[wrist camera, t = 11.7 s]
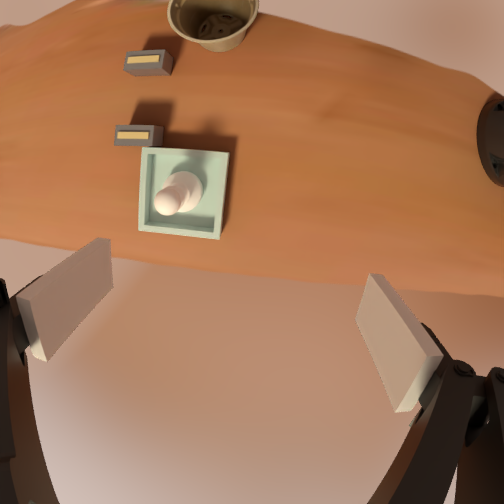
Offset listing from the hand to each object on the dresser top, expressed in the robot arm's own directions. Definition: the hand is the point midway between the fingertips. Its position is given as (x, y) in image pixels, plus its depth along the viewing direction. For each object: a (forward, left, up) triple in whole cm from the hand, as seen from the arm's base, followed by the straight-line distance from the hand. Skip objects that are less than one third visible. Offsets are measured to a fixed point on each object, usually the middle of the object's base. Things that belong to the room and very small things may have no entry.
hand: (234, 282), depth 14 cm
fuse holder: (+14, -11, -25) cm, 31 cm away
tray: (+8, 0, -25) cm, 26 cm away
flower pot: (+6, -21, -25) cm, 33 cm away
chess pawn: (+8, 0, -24) cm, 26 cm away
